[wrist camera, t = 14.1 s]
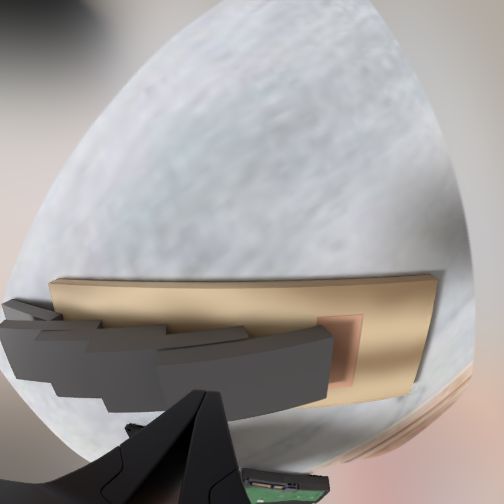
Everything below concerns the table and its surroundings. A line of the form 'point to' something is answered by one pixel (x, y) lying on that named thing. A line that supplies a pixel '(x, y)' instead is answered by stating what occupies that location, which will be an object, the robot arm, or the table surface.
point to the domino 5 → (252, 371)
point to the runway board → (283, 320)
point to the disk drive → (283, 487)
